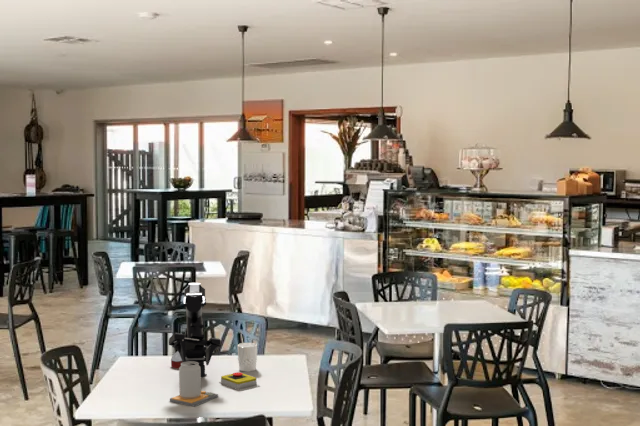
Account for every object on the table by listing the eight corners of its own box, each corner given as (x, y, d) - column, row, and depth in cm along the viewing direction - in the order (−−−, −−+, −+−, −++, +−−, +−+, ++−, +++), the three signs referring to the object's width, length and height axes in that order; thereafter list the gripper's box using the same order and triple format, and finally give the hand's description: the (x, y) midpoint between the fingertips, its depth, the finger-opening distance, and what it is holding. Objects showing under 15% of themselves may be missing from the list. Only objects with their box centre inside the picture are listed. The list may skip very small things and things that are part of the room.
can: (205, 396, 290) (205, 362, 289) (189, 401, 284) (188, 366, 283) (191, 392, 295) (190, 359, 294) (175, 397, 289) (174, 363, 288)
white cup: (261, 368, 332) (261, 344, 331) (249, 373, 326) (249, 348, 325) (245, 365, 336) (245, 341, 336) (233, 370, 330) (233, 345, 329)
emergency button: (237, 368, 318) (261, 375, 307) (237, 379, 318) (261, 387, 307) (217, 372, 312) (241, 380, 301) (217, 383, 312) (241, 392, 301)
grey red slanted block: (193, 378, 335) (193, 360, 329) (168, 376, 335) (168, 357, 329) (198, 359, 344) (198, 341, 339) (174, 357, 344) (174, 339, 339)
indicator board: (169, 401, 289) (169, 397, 288) (194, 392, 300) (194, 388, 299) (193, 406, 283) (193, 402, 283) (217, 396, 294) (217, 392, 294)
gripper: (207, 336, 317) (209, 374, 308) (162, 329, 307) (162, 369, 299) (220, 324, 309) (222, 363, 301) (174, 317, 300) (175, 357, 291)
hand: (195, 363), depth 298 cm, fingers open, 9 cm apart
